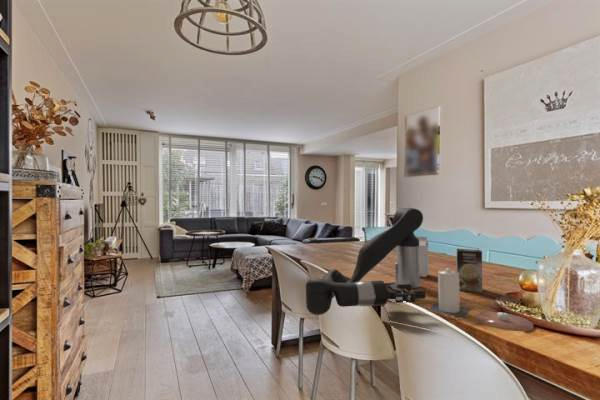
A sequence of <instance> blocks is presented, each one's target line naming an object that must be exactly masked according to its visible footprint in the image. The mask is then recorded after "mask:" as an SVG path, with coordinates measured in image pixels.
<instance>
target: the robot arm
mask: <svg viewBox="0 0 600 400" xmlns="http://www.w3.org/2000/svg"><path fill="white" fill-rule="evenodd" d="M393 216H394V217H393V225H392V226H391V227H389V228H388V229H386V230H384V231H382V232H380V233H377V234H376V235H375V236H373V237H371V238H370V239H369V240H367V242H366V243H365V244H364V245H362V246H361V248H360V249H359V251H358V254H357V259H356V263H355V268H354V271H353V273H352V275H351V278H350V279H349V280H348V279H347V278H346V277H345V276H344V275H343V274H342V272H340V271H339V270H337V269H336V268H335V269H333V268H332V269H331V270H330V271H328V272H326V273H325V275H324V276H322V278H318V277H313V278H311V279H308V281H306V283H305V302H306V303H305V304H306V309H307V311H308V312H309V313H310V314H312V315H315V316H320V315H325V314H326V313H327V312H328V311H329V310H330V308H331V305H332V302H333V298H334V297H335V301H336V303H337V305H338V306H339V307H374V306H375V307H377V306H385V305H386V304H387V303H388V301H389V300H391V299H395V300H394V301H395V303H397V304H399V303H403V301H406V302H405V303H416V300H417V299H418V300H419V299H421V300H423V299H425V298H426V291H424V290H412V289H418V288H420V287H421V276H420V258H419V239H418V238H417V237H418V236H417V237H416V235H415V232H416V231H417V230H418V229H419V228H420V227H421V225H422V223H423V221H424V216H423V213H422V212H421V210H420V209H417V208H413V207H409V208H408V207H404V208H403V207H402V208H399V209H397V210H396V212H395V213H394V215H393ZM395 248H396V262H395V264H394V266H395V268H394V270H395V271H394V273H395V274H394V275H395V276H394V277H395V282H385V281H384V280H362V279H363V278H364V277H365V276H366V275H367V274H368V273H369V272H370V271H372V270H373V269H374V268H375V267H377V266H378V264H380V263H381V262H382V261H383V260H384V259H385V258H386V257H387V256H388V255H389V254H390V253H391V252H392V251H393V250H394V249H395ZM361 280H362V281H361Z"/></svg>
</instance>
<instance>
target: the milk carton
mask: <svg viewBox="0 0 600 400" xmlns="http://www.w3.org/2000/svg"><path fill="white" fill-rule="evenodd" d="M415 236H416V235H415ZM416 237H417V238H418V239H419V258H420V278H421V277H423V278H427V275H429V271H430V266H429V265H430V263H429V240H428V237H427V236H418V235H417V236H416Z"/></svg>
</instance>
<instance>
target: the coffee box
mask: <svg viewBox="0 0 600 400" xmlns="http://www.w3.org/2000/svg"><path fill="white" fill-rule="evenodd" d="M456 272H458V273H459V291H464V292H473V293H474V292H476V293H483V251H482V250H480V249H469V248H467V249H466V248H456Z"/></svg>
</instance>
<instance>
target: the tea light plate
mask: <svg viewBox="0 0 600 400" xmlns="http://www.w3.org/2000/svg"><path fill="white" fill-rule="evenodd" d="M475 318H476V320H477V321H478V322H479V323H482V324H483V325H486V326H489V327H493V328H496V329H500V330H507V331H518V332H519V331H523V332H524V333H527V332H531V331H533V330H534V323H533V322H532V321H531V320H529V319H527V318H524V317H522V316H518V315H515V314H511V313H508V312H505V311H502V312H501V311H499V312H497V311H482V312H479V313H477V314H476V315H475Z"/></svg>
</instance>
